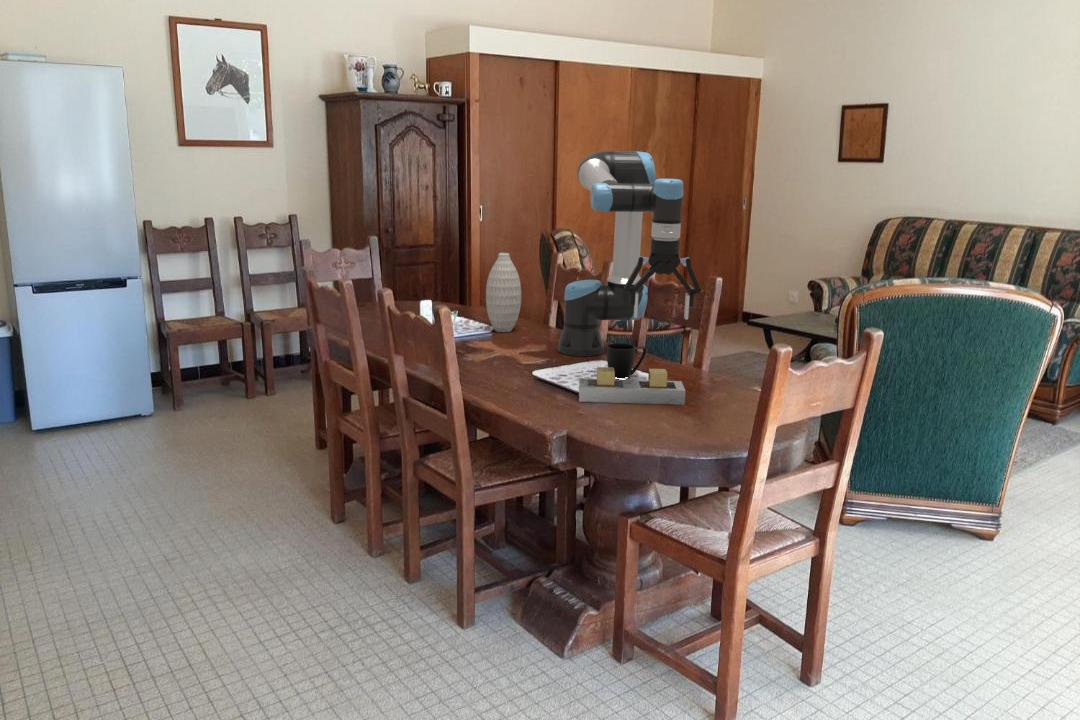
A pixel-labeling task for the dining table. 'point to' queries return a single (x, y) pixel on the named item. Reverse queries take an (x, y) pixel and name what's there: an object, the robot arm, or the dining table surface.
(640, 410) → the dining table surface
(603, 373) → the tan wooden brick
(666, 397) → the rail
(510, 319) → the vase
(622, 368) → the mug
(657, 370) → the yellow rectangular block
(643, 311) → the robot arm
